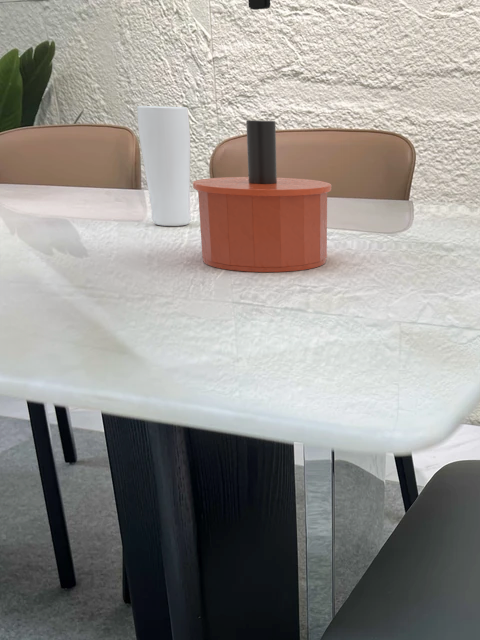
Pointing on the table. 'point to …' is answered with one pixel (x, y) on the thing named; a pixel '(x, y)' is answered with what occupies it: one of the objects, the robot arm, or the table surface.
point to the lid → (261, 170)
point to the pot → (263, 231)
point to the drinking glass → (166, 162)
